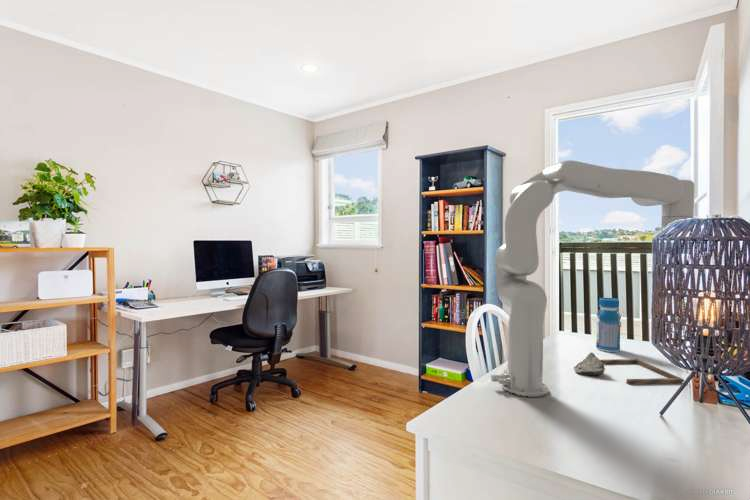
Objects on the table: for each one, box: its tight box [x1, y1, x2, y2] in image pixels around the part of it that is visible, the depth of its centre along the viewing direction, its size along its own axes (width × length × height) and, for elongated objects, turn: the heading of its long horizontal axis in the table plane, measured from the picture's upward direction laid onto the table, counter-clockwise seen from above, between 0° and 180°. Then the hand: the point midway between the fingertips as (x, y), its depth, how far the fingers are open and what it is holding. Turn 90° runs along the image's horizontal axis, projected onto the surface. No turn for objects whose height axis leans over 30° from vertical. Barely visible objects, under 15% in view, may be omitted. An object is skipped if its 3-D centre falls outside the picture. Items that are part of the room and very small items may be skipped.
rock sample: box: [573, 352, 606, 377], centre depth 132 cm, size 10×8×9 cm
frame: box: [599, 358, 685, 385], centre depth 133 cm, size 17×20×1 cm
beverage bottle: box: [595, 297, 622, 353], centre depth 159 cm, size 8×8×20 cm
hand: (675, 281), depth 120 cm, fingers open, 9 cm apart
